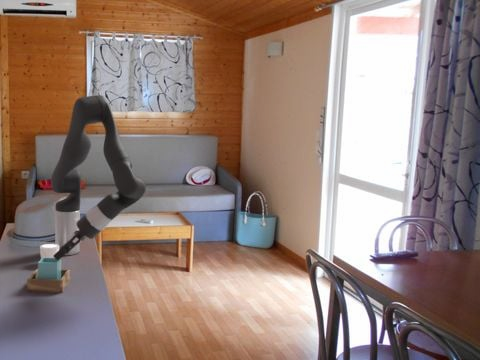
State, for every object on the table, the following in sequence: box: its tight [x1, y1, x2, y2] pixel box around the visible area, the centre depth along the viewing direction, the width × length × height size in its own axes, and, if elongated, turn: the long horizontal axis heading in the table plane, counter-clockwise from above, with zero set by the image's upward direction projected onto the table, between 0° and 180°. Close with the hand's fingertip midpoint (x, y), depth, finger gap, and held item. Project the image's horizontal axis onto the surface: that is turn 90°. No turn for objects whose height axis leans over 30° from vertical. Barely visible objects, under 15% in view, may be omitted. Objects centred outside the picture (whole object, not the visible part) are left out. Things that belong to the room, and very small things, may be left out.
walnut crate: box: [26, 268, 71, 294], centre depth 190 cm, size 12×11×4 cm
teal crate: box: [37, 257, 62, 280], centre depth 189 cm, size 6×6×8 cm
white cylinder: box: [39, 243, 59, 260], centre depth 213 cm, size 7×7×7 cm
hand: (58, 254), depth 189 cm, fingers open, 8 cm apart
